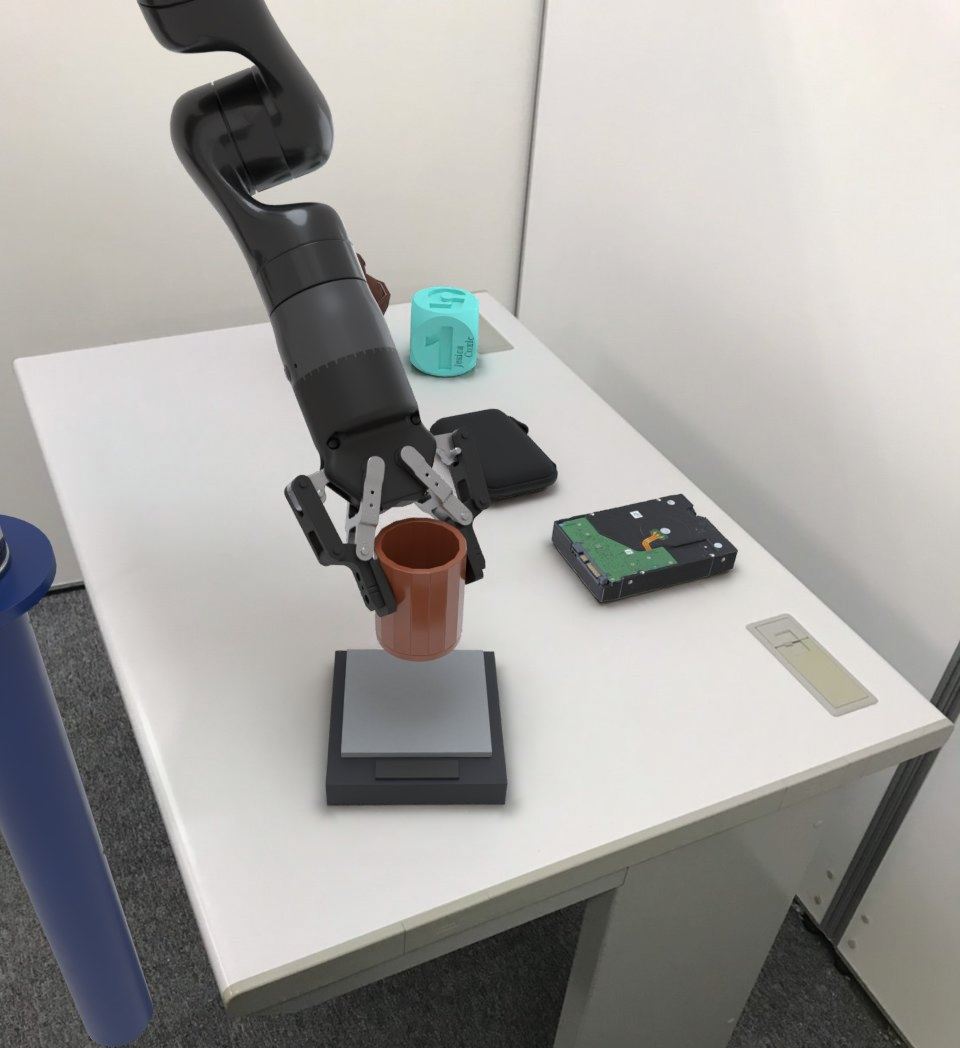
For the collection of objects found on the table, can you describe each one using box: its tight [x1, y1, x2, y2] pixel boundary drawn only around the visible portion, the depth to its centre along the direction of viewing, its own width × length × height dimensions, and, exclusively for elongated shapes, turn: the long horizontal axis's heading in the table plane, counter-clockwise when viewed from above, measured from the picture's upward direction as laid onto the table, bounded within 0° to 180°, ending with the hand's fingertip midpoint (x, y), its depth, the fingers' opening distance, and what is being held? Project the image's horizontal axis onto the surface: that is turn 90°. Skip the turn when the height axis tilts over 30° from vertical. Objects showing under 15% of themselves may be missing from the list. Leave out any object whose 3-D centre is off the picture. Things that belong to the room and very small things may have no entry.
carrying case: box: [428, 408, 559, 502], centre depth 107 cm, size 11×3×15 cm
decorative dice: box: [409, 285, 480, 378], centre depth 122 cm, size 8×8×8 cm
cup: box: [373, 516, 467, 662], centre depth 70 cm, size 6×6×8 cm
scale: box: [325, 648, 508, 807], centre depth 77 cm, size 13×14×3 cm
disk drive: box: [551, 493, 739, 603], centre depth 96 cm, size 10×3×15 cm
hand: (432, 596), depth 69 cm, fingers closed on cup, 6 cm apart
